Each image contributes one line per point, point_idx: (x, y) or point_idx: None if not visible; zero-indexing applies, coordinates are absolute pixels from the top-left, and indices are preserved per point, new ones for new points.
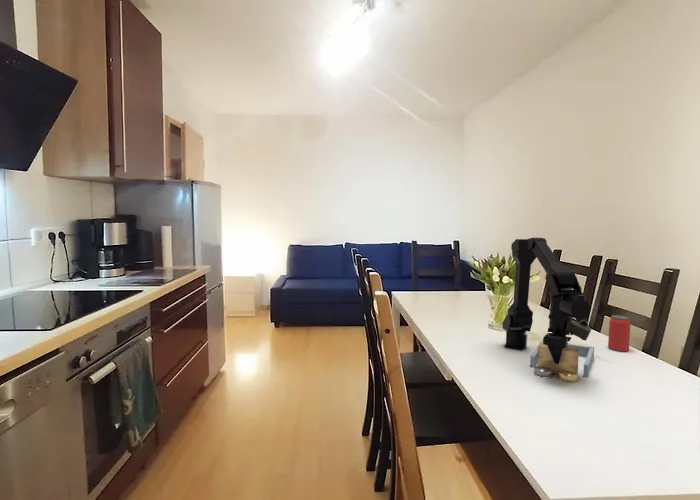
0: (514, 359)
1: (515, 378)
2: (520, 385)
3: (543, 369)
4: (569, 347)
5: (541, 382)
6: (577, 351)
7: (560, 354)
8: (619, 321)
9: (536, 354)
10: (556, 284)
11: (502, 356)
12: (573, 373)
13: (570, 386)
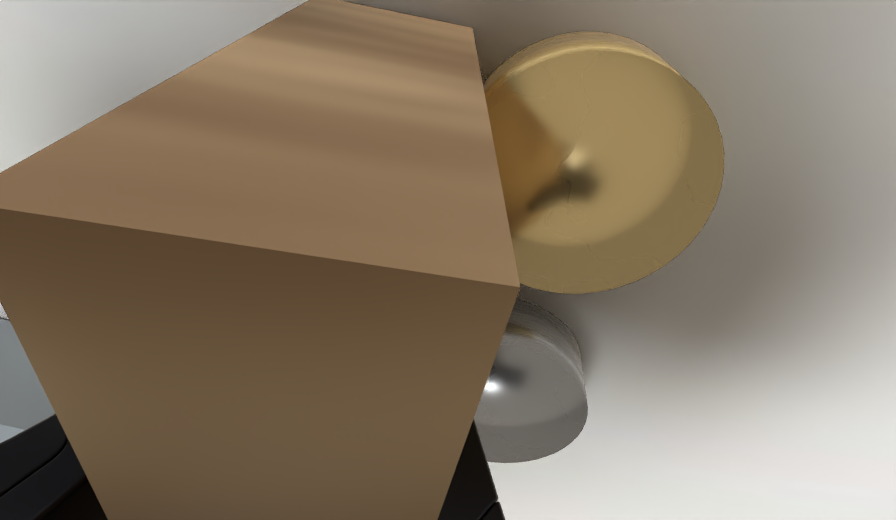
0: None
1: (654, 515)
2: (819, 515)
3: (512, 410)
4: (100, 470)
5: (729, 396)
6: (398, 293)
7: (500, 509)
8: None
9: None
10: None
11: None
12: (563, 114)
13: (858, 156)
